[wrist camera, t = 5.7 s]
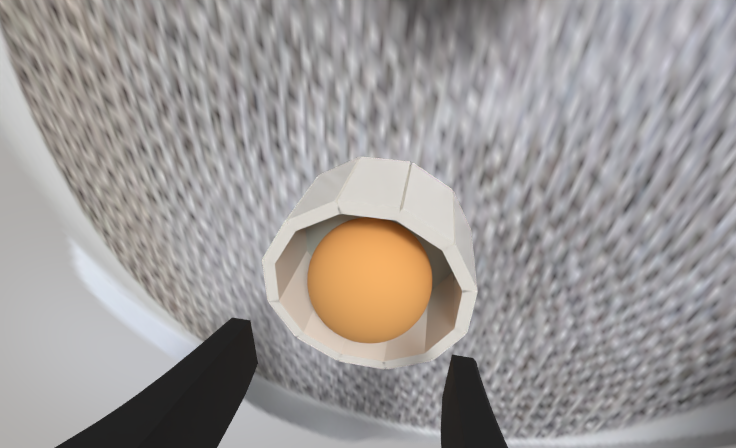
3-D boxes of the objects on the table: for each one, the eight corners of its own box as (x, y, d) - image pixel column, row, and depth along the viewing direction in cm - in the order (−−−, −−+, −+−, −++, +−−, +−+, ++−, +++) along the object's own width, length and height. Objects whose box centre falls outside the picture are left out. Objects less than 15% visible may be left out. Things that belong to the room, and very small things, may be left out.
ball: (441, 202, 16) (439, 278, 11) (427, 293, 18) (421, 382, 14) (325, 189, 16) (282, 256, 12) (327, 278, 19) (293, 359, 15)
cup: (485, 169, 15) (495, 218, 12) (453, 314, 19) (454, 381, 16) (293, 149, 16) (252, 189, 13) (303, 291, 20) (274, 349, 17)
